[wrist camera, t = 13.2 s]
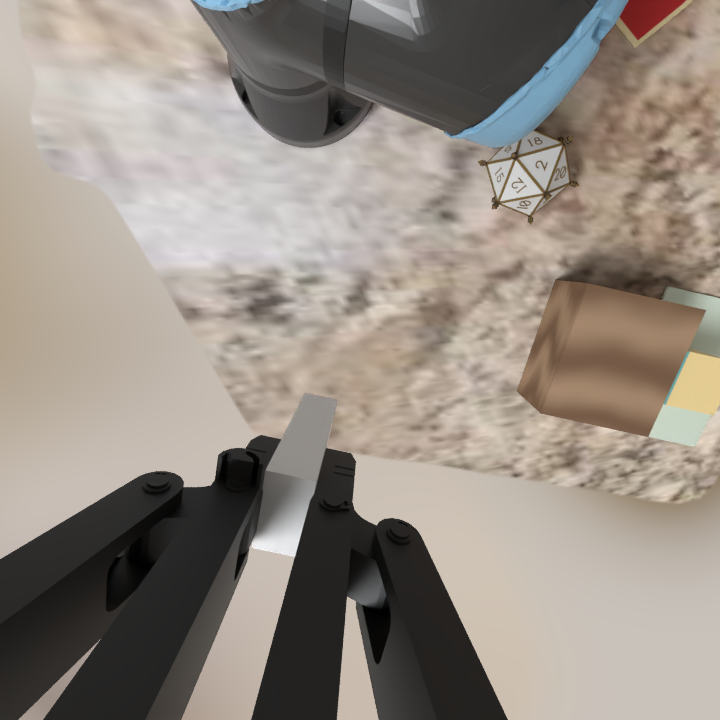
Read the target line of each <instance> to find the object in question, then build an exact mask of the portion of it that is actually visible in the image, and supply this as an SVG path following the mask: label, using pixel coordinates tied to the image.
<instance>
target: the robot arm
mask: <svg viewBox="0 0 720 720" xmlns="http://www.w3.org/2000/svg"><path fill="white" fill-rule="evenodd" d="M190 1H191V2H192V3H193V5H194V6H195V8H196V9H197V10H198V12H199V13H200V15H201V16H202V17H203V19H204V20H205V22H206V23H207V24H208V26H209V27H210V29H211V30H212V31H213V33H214V34H215V36H216V37H217V38H218V40H219V41H220V43H221V44H222V46H223V47H224V48H225V50H226V51H227V57H228V65H229V71H230V75H231V78H232V82H233V85H234V87H235V90H236V92H237V94H238V96H239V98H240V100H241V102H242V104H243V105H244V107H245V108H246V110H247V111H248V112H249V114H250V115H251V116H252V117H253V119H254V120H255V121H256V122H257V123H258V124H259V125H260V126H261V128H263V129H264V130H265V131H266V132H267V133H268V134H270V135H271V136H273V137H274V138H276V139H278V140H279V141H282V142H284V143H286V144H289V145H292V146H297V147H303V148H315V147H322V146H326V145H329V144H332V143H334V142H336V141H338V140H340V139H342V138H343V137H345V136H346V135H348V134H349V133H350V132H352V131H353V130H354V129H355V128H356V127H357V126H358V125H359V123H360V122H361V121H362V120H363V118H364V117H365V116H366V114H367V112H368V111H369V109H370V107H371V105H372V103H373V102H374V103H376V104H379V105H381V106H384V107H386V108H388V109H391V110H393V111H396V112H398V113H401V114H403V115H406V116H408V117H411V118H413V119H416V120H418V121H421V122H423V123H425V124H428V125H430V126H433V127H435V128H438V129H440V130H443V131H444V133H445V134H446V135H447V136H448V137H450V138H457V139H462V138H463V139H466V140H469V141H472V142H475V143H478V144H480V145H483V146H486V147H490V148H498V147H504V146H509V145H512V144H514V143H516V142H518V141H520V140H521V139H523V138H524V137H526V136H527V135H528V134H530V133H531V132H532V131H533V130H534V129H536V128H537V127H538V126H539V125H540V124H541V123H542V122H543V121H544V120H545V119H546V118H547V117H548V116H549V115H550V114H551V113H552V111H553V110H554V109H555V108H556V107H557V106H558V105H559V104H560V102H561V101H562V100H563V99H564V98H565V96H566V95H567V94H568V93H569V91H570V90H571V89H572V88H573V86H574V85H575V84H576V82H577V81H578V80H579V79H580V77H581V76H582V75H583V73H584V72H585V70H586V69H587V68H588V66H589V65H590V63H591V62H592V60H593V59H594V58H595V56H596V54H597V52H598V51H599V49H600V48H599V45H600V42H601V40H602V39H603V38H604V37H605V35H606V34H607V33H608V32H609V31H610V29H611V28H612V27H613V26H614V25H615V24H616V22H617V20H618V18H619V17H620V15H621V13H622V11H623V10H624V8H625V6H626V4H627V3H628V1H629V0H190ZM336 405H337V400H336V399H332V398H327V397H322V396H318V395H313V394H309V393H305V394H304V396H303V398H302V400H301V402H300V404H299V406H298V408H297V410H296V412H295V414H294V416H293V418H292V420H291V422H290V424H289V426H288V427H287V429H286V431H285V433H284V435H283V437H282V439H277V438H272V437H267V436H263V435H260V436H258V437H256V438H254V439H252V440H251V441H250V443H249V444H248V446H247V447H246V449H244V448H234V449H229V450H226V451H223V452H222V453H221V454H219V455H218V462H217V470H216V476H215V481H214V482H213V483H212V485H211V486H206V487H183V485H184V482H183V480H182V478H181V477H180V476H178V475H176V474H175V473H171V472H166V471H164V472H163V471H156V472H151V473H146V474H144V475H141V476H139V477H137V478H135V479H134V480H132V481H130V482H129V483H127V484H125V485H124V486H122V487H120V488H119V489H117V490H115V491H114V492H112V493H111V494H109V495H107V496H105V497H104V498H102V499H100V500H99V501H97V502H95V503H94V504H92V505H90V506H89V507H87V508H85V509H84V510H82V511H80V512H79V513H77V514H75V515H74V516H72V517H70V518H69V519H67V520H65V521H64V522H62V523H60V524H59V525H57V526H55V527H54V528H52V529H50V530H49V531H47V532H45V533H43V534H42V535H40V536H38V537H37V538H35V539H34V540H32V541H30V542H28V543H27V544H25V545H24V546H22V547H20V548H19V549H17V550H15V551H13V552H12V553H10V554H8V555H7V556H5V557H3V558H2V559H0V720H18V719H19V718H20V717H21V716H22V715H23V714H24V713H25V712H26V711H27V710H28V709H29V708H30V707H32V706H33V705H34V703H36V702H37V701H38V700H39V699H40V697H42V696H43V694H45V693H46V692H47V691H48V690H49V689H50V688H51V687H52V686H53V685H54V684H55V683H56V682H57V681H58V680H59V679H60V678H61V677H62V676H63V675H64V674H65V673H66V672H67V671H68V670H69V669H70V668H71V667H72V666H73V665H74V664H75V663H76V662H77V661H78V660H79V659H80V658H81V657H82V656H84V655H85V653H87V652H88V651H89V650H90V649H91V648H92V647H93V646H94V645H95V644H96V643H97V642H98V641H99V640H100V639H101V640H100V641H99V643H98V644H97V645H96V647H95V648H94V650H93V651H92V652H91V654H90V655H89V657H88V658H87V659H86V661H85V662H84V664H83V665H82V666H81V668H80V669H79V671H78V672H77V673H76V675H75V676H74V677H73V679H72V680H71V682H70V683H69V684H68V686H67V687H66V689H65V690H64V692H63V693H62V694H61V696H60V697H59V699H58V700H57V701H56V703H55V704H54V705H53V707H52V708H51V710H50V711H49V712H48V714H47V715H46V717H45V718H44V719H43V720H181V719H182V716H183V714H184V711H185V709H186V707H187V704H188V702H189V699H190V697H191V695H192V692H193V690H194V687H195V685H196V683H197V680H198V678H199V675H200V673H201V671H202V668H203V666H204V663H205V661H206V659H207V655H208V654H209V651H210V649H211V647H212V644H213V642H214V639H215V637H216V635H217V632H218V630H219V627H220V625H221V623H222V620H223V618H224V615H225V612H226V610H227V608H228V606H229V603H230V601H231V599H232V596H233V594H234V591H235V589H236V586H237V584H238V582H239V579H240V577H241V575H242V572H243V570H244V567H245V565H246V563H247V558H248V552H249V547H250V545H251V542H252V540H253V538H254V540H253V546H252V548H255V549H260V550H264V551H269V552H274V553H279V554H284V555H289V556H294V557H295V559H294V563H293V566H292V570H291V574H290V577H289V581H288V585H287V589H286V592H285V596H284V600H283V604H282V607H281V611H280V615H279V619H278V622H277V626H276V630H275V633H274V637H273V641H272V645H271V648H270V652H269V656H268V659H267V663H266V667H265V671H264V675H263V678H262V682H261V686H260V689H259V693H258V697H257V700H256V704H255V708H254V712H253V716H252V719H251V720H337V709H338V697H339V685H340V673H341V661H342V648H343V636H344V625H345V612H346V600H347V596H348V597H349V598H351V599H353V600H355V601H356V610H357V615H358V620H359V625H360V629H361V635H362V639H363V644H364V650H365V654H366V659H367V664H368V669H369V674H370V679H371V684H372V688H373V694H374V698H375V703H376V708H377V713H378V718H379V720H508V719H507V717H506V715H505V713H504V711H503V709H502V706H501V705H500V702H499V700H498V698H497V696H496V694H495V692H494V690H493V687H492V685H491V684H490V681H489V679H488V677H487V675H486V673H485V671H484V668H483V666H482V664H481V662H480V660H479V658H478V656H477V654H476V651H475V649H474V647H473V645H472V643H471V641H470V639H469V637H468V635H467V633H466V630H465V628H464V626H463V624H462V622H461V620H460V618H459V615H458V613H457V611H456V609H455V607H454V605H453V603H452V601H451V599H450V597H449V594H448V592H447V590H446V588H445V586H444V584H443V582H442V580H441V578H440V575H439V573H438V571H437V569H436V567H435V565H434V563H433V560H432V559H431V556H430V554H429V552H428V550H427V548H426V546H425V544H424V541H423V539H422V537H421V535H420V534H419V532H418V531H417V530H416V529H415V528H414V527H413V526H412V525H410V524H409V523H407V522H405V521H403V520H400V519H394V518H389V519H384V520H382V521H380V522H379V523H378V525H377V526H376V525H374V524H372V523H369V522H368V521H366V520H364V519H363V518H361V517H360V516H359V515H358V514H357V513H356V511H355V510H354V507H353V503H352V498H353V488H354V476H355V465H356V461H355V459H354V458H353V456H352V454H351V453H347V452H342V451H337V450H333V449H328V448H327V446H328V442H329V437H330V432H331V428H332V423H333V419H334V414H335V409H336Z"/></svg>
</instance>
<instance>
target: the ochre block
mask: <svg viewBox="0 0 720 720" xmlns="http://www.w3.org/2000/svg"><path fill="white" fill-rule="evenodd" d="M719 404H720V357H717V356H714V355H710V354H707V353H703V352H699V351H696V350H692V349H688V351H687V354H686V356H685V358H684V360H683V362H682V365H681V367H680V369H679V371H678V373H677V375H676V378H675V380H674V382H673V384H672V386H671V389H670V391H669V393H668V395H667V397H666V399H665V402H664V405H669V406H673V407H678V408H682V409H687V410H692V411H696V412H701V413H705V414H710V415H714V414H715V412H716V410H717V408H718V406H719Z"/></svg>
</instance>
